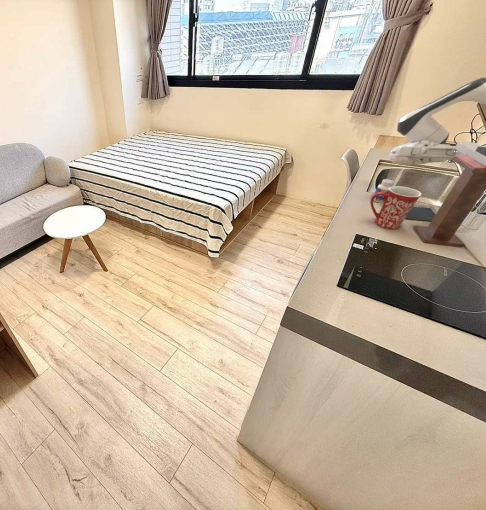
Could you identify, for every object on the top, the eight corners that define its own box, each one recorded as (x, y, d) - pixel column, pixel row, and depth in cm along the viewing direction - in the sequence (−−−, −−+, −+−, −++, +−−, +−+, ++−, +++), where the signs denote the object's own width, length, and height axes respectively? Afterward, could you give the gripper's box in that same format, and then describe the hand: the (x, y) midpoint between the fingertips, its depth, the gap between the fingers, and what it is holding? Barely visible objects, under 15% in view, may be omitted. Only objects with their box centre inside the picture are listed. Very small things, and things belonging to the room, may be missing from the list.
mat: (429, 208, 112) (429, 207, 111) (442, 222, 103) (443, 222, 102) (393, 205, 115) (393, 204, 115) (403, 219, 106) (403, 218, 106)
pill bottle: (375, 203, 118) (384, 183, 113) (369, 197, 122) (378, 178, 117) (389, 203, 117) (399, 183, 112) (382, 198, 121) (392, 178, 116)
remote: (470, 148, 90) (476, 138, 88) (503, 166, 77) (512, 155, 75) (454, 148, 91) (460, 138, 89) (484, 166, 78) (492, 154, 76)
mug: (401, 222, 105) (420, 188, 97) (403, 233, 99) (423, 198, 91) (362, 214, 111) (376, 182, 103) (361, 224, 105) (376, 191, 97)
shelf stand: (446, 230, 98) (496, 156, 83) (463, 249, 90) (523, 170, 74) (411, 226, 102) (454, 155, 86) (424, 244, 93) (474, 167, 77)
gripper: (390, 144, 112) (409, 141, 99) (453, 144, 106) (482, 141, 94) (385, 160, 114) (404, 159, 101) (447, 162, 108) (474, 161, 96)
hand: (442, 151), depth 97 cm, fingers open, 8 cm apart
